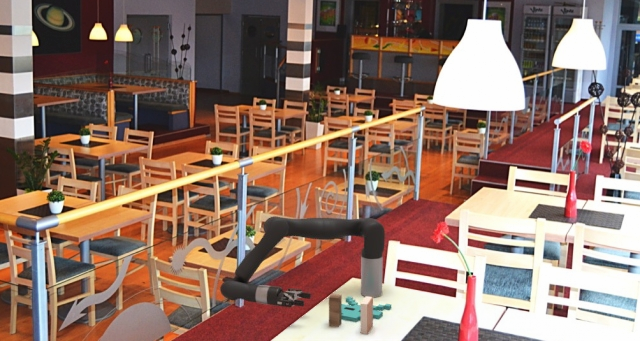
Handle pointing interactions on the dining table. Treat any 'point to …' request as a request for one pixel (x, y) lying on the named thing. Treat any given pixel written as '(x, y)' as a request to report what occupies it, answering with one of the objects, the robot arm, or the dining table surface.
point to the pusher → (335, 310)
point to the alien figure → (354, 310)
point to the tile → (366, 314)
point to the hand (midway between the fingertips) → (307, 299)
